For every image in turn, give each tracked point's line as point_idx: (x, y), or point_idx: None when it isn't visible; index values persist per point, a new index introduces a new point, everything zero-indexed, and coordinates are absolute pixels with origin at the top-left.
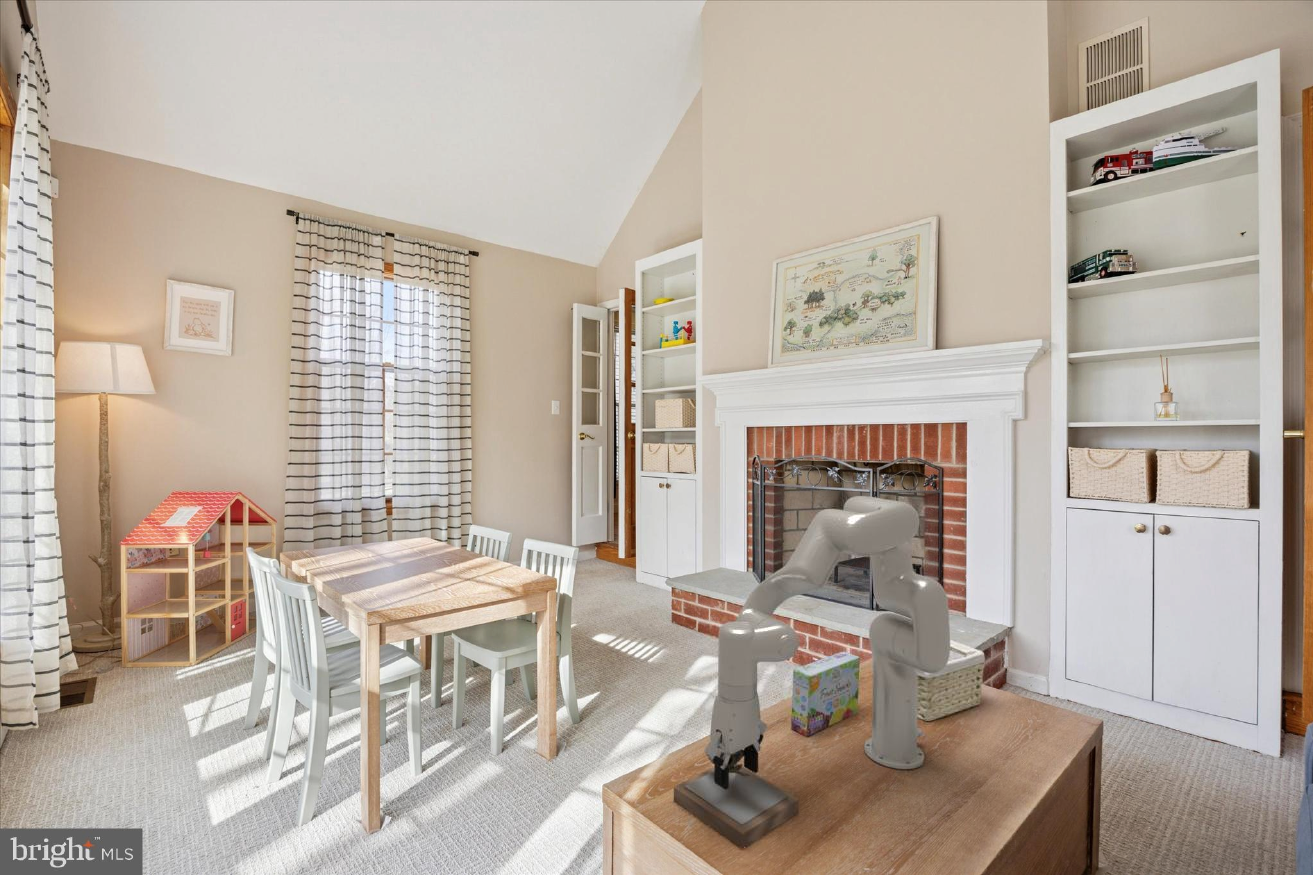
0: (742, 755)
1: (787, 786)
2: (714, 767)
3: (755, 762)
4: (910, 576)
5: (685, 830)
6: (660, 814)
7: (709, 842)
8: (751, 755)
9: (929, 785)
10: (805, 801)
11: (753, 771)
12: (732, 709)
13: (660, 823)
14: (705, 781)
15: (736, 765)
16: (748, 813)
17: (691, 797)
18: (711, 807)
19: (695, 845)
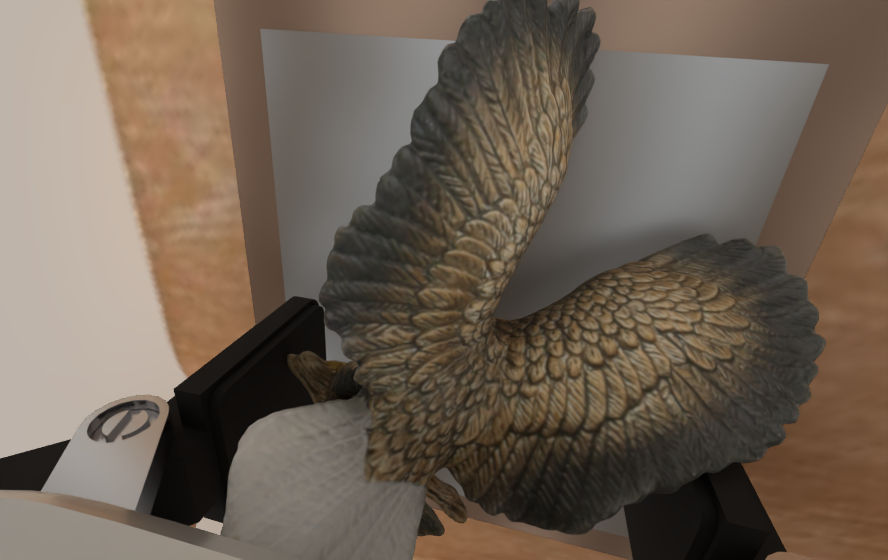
0: (768, 340)
1: (872, 408)
2: (217, 355)
3: (630, 544)
4: None
5: (196, 213)
6: (152, 34)
7: (235, 324)
8: (657, 557)
9: None
10: (766, 507)
11: None
12: None
13: (124, 92)
14: (417, 106)
15: (841, 125)
16: None
17: (243, 149)
18: (280, 290)
19: (184, 296)
